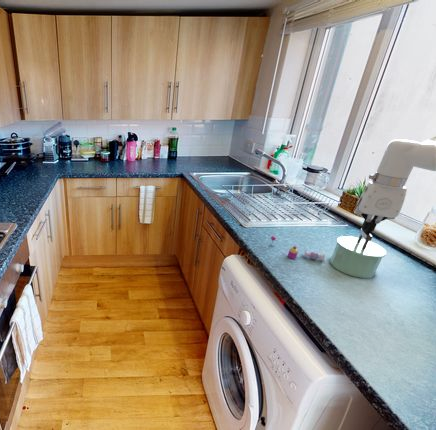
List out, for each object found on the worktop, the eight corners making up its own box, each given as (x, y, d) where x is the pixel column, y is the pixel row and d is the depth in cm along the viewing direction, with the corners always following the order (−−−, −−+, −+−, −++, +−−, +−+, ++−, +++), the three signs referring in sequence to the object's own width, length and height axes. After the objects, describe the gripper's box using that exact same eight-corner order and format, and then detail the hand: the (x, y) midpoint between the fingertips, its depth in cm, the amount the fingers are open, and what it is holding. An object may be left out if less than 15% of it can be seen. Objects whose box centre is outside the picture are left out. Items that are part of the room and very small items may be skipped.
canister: (366, 262, 107) (375, 242, 103) (379, 281, 96) (390, 260, 92) (326, 254, 111) (334, 235, 107) (335, 272, 100) (343, 251, 97)
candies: (320, 256, 110) (325, 242, 107) (323, 266, 103) (328, 252, 101) (268, 244, 117) (272, 231, 115) (268, 253, 111) (272, 239, 108)
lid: (375, 243, 104) (383, 227, 101) (392, 263, 92) (401, 246, 89) (331, 236, 108) (337, 220, 106) (341, 253, 97) (348, 237, 94)
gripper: (364, 180, 89) (343, 232, 97) (426, 187, 84) (398, 241, 92) (356, 174, 95) (337, 223, 103) (413, 180, 90) (388, 231, 98)
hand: (366, 231), depth 97 cm, fingers closed
